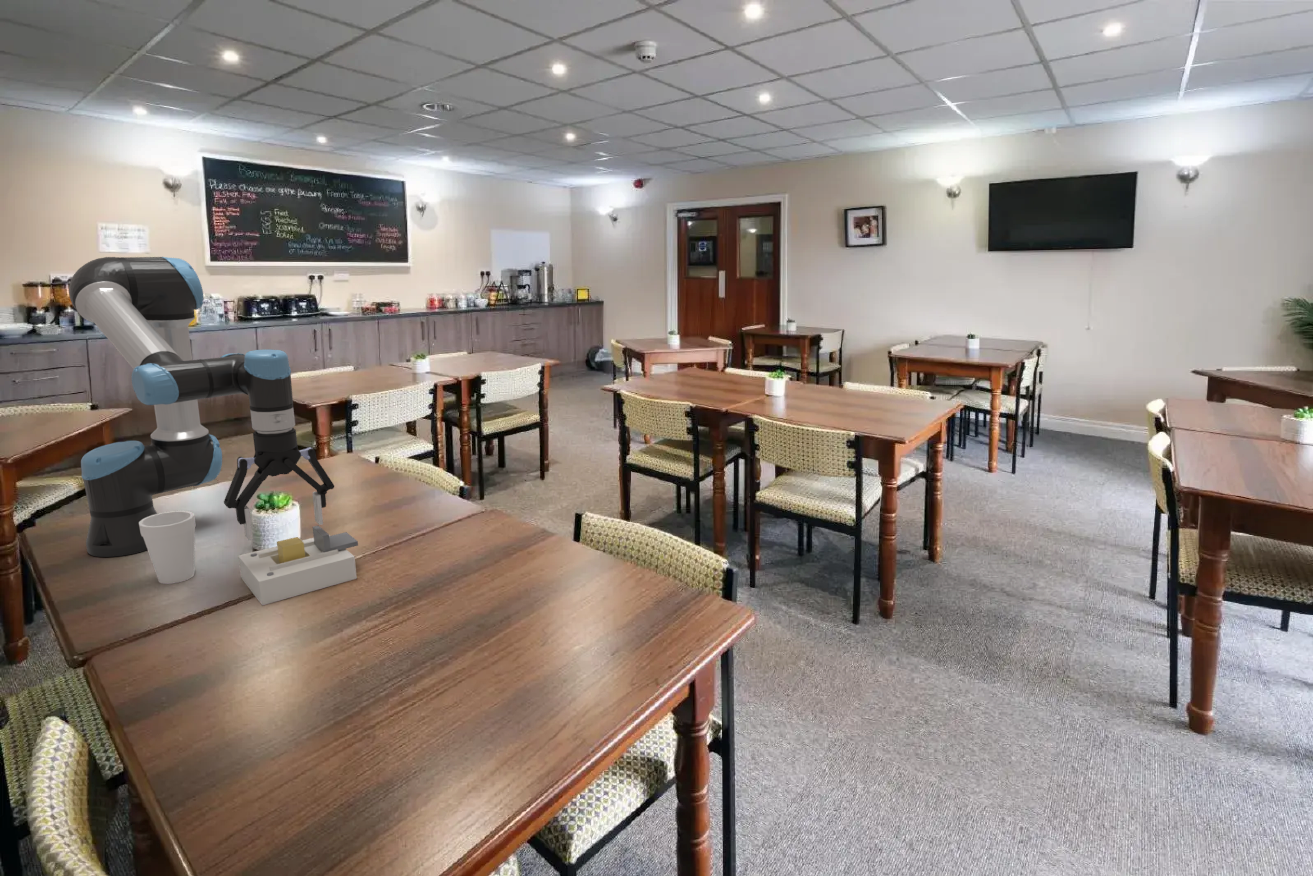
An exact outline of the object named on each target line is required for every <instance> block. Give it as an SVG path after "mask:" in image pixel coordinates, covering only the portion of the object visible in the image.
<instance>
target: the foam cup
mask: <svg viewBox="0 0 1313 876" xmlns="http://www.w3.org/2000/svg"><path fill="white" fill-rule="evenodd" d="M195 518H196V517H195V515H194V512H192V511H189V510H188V511H187V510H173V511H172V510H171V511H163V512H160V513H157V514H155V515H151V516H149V517H146V518H144V519H142V520H141V521H140V522H139V527H140V533H141V536H142V537H143V538H144V541H145V544H146V547H147V549H148V550H147V551H148V552H147V553H148V555H149V558H150V561H151V564H152V566H153V569H154V572H155V574H156V579H157V581H158V583H160V584H162V585H167V584H168V585H171V584H177V583H181V582H184V581H187V580H189V579H191V578H192V577H194V576H195V567H196V566H195V558H196V557H195V552H196V551H195V549H196V548H195V547H196V546H195V544H196V543H195V542H196V541H195V540H196V535H195V533H196V532H195V531H196V529H195V527H197V525H196V519H195Z"/></svg>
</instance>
